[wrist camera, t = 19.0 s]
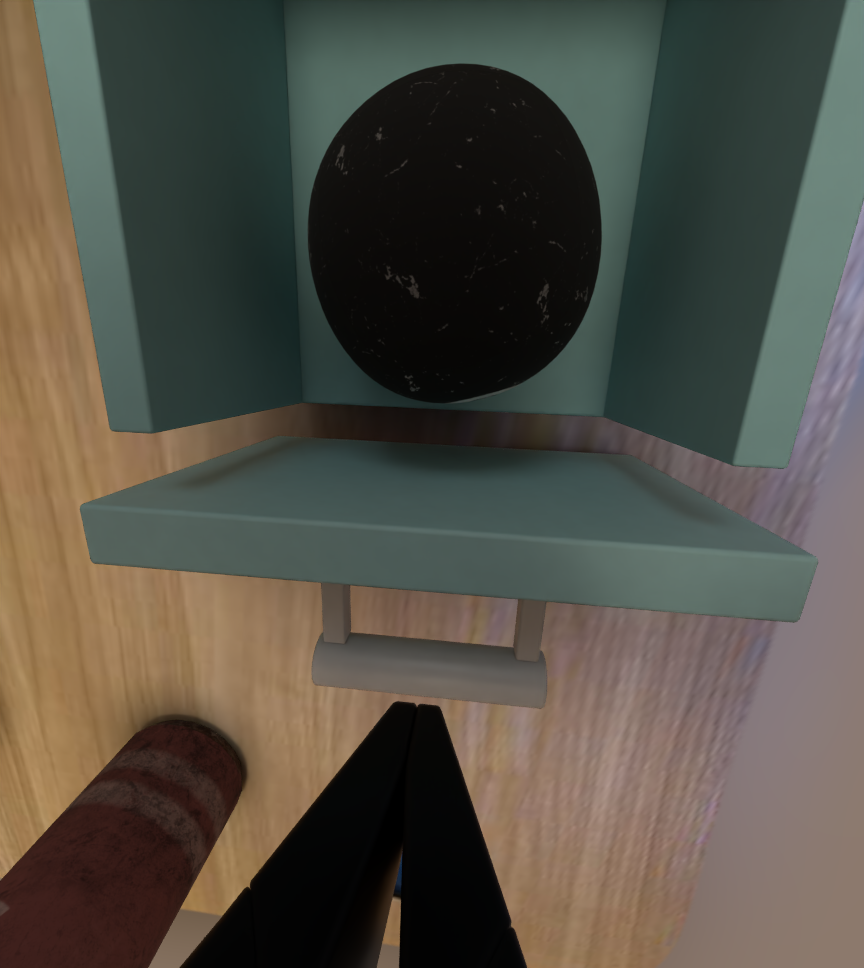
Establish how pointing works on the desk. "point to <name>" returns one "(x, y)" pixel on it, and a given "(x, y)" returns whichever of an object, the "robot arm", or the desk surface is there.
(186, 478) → the mint green drawer
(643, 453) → the desk surface
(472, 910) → the robot arm
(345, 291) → the billiard ball
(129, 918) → the can
